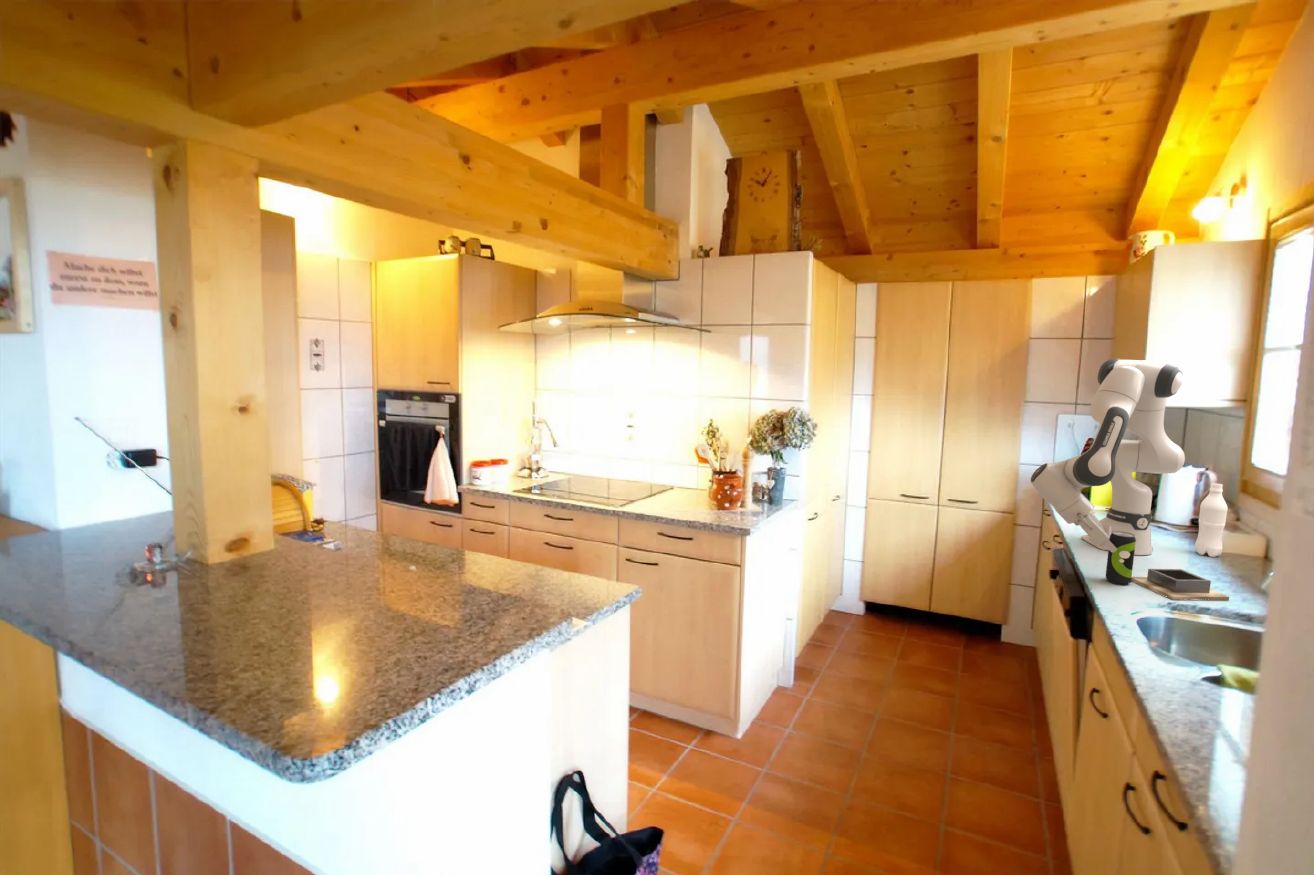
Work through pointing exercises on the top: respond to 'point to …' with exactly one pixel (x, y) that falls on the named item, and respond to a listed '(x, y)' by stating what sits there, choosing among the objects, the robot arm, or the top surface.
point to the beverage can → (1121, 558)
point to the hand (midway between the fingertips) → (1112, 546)
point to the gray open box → (1178, 581)
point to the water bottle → (1212, 522)
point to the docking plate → (1163, 591)
